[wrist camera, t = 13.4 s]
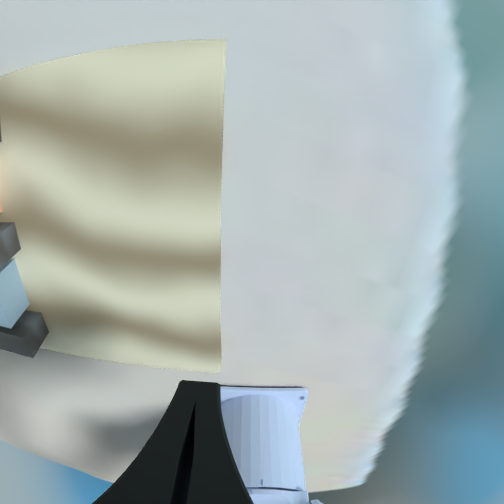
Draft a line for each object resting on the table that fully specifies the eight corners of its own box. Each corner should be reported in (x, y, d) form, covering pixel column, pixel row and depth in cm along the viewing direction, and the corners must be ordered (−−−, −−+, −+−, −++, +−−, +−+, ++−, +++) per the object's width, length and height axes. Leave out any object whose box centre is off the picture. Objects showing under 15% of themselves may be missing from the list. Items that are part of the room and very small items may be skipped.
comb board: (221, 368, 23) (218, 404, 20) (-3, 333, 23) (-20, 357, 20) (226, 41, 13) (220, 27, 10) (-60, 102, 12) (-91, 111, 9)
